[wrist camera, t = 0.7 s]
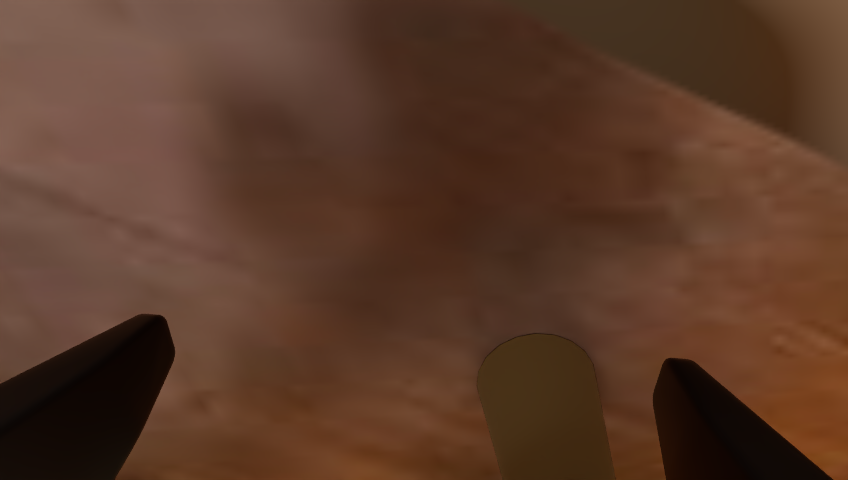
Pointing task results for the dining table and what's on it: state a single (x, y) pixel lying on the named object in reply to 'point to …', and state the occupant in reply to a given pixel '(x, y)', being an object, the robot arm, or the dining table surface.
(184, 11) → the dining table surface
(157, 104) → the dining table surface
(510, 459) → the tan gourd shape
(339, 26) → the dining table surface
